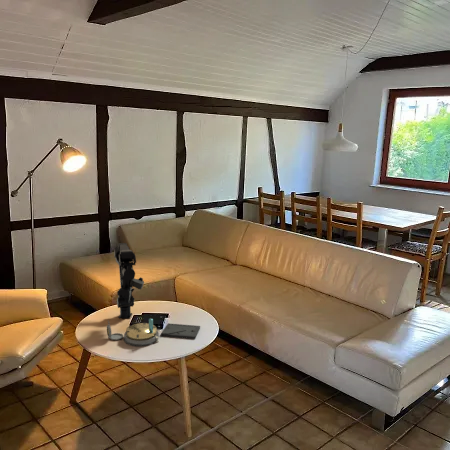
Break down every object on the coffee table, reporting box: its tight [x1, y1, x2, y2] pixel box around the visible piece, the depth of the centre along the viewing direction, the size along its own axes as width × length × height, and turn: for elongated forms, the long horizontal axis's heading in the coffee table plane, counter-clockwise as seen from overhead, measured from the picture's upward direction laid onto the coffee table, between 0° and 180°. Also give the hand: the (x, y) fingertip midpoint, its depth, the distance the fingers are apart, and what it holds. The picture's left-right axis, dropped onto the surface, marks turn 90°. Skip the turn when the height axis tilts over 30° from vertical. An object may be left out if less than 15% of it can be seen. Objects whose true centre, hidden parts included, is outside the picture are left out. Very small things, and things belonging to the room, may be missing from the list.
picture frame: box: [160, 323, 201, 340], centre depth 234 cm, size 13×2×18 cm
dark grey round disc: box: [123, 330, 160, 347], centre depth 226 cm, size 17×18×3 cm
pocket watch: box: [106, 320, 124, 341], centre depth 225 cm, size 8×8×10 cm
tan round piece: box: [125, 317, 158, 341], centre depth 225 cm, size 15×15×10 cm
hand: (127, 303), depth 237 cm, fingers closed
